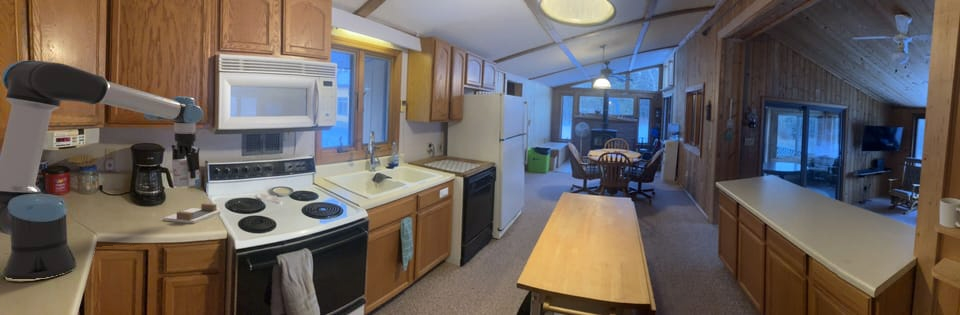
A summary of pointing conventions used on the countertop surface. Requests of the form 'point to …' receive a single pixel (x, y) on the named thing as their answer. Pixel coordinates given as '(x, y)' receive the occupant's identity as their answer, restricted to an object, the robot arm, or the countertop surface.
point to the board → (194, 214)
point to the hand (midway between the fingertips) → (186, 184)
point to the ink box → (182, 173)
